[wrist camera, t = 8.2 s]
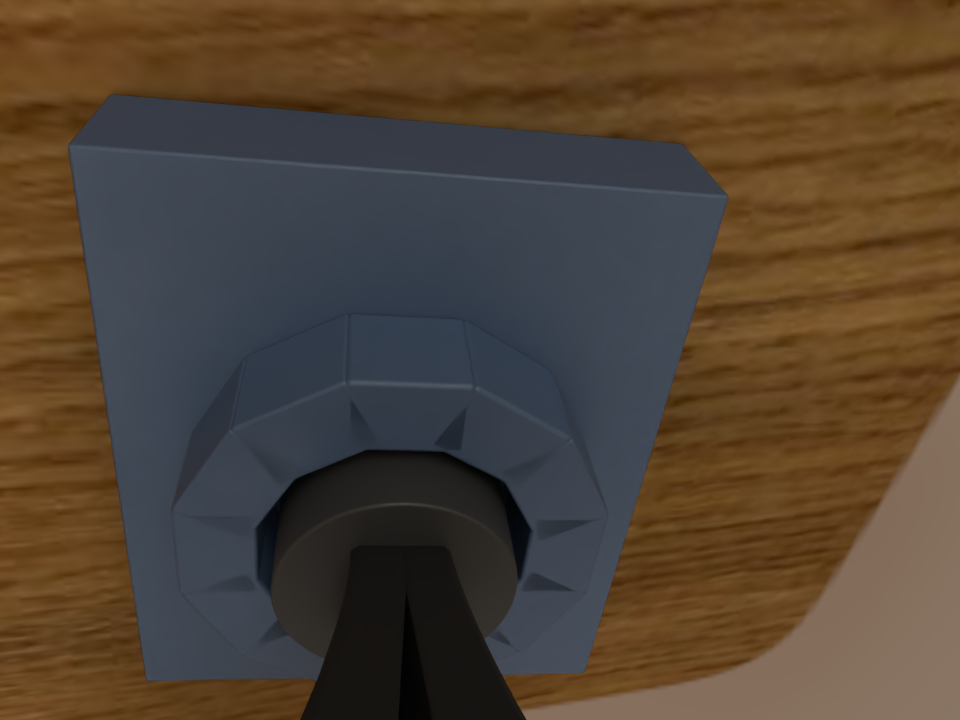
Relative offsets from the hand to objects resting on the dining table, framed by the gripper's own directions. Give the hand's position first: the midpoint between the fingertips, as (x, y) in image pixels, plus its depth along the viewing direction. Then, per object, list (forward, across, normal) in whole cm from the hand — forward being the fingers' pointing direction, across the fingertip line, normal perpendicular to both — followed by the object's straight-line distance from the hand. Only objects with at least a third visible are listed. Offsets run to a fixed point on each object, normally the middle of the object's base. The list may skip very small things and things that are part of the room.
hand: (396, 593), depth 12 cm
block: (+5, 0, 0) cm, 5 cm away
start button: (+2, 0, 0) cm, 2 cm away
